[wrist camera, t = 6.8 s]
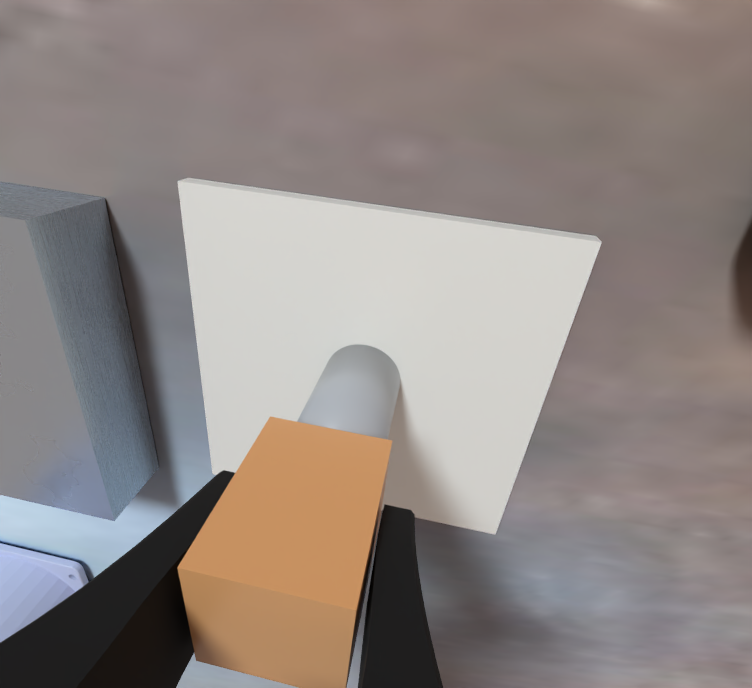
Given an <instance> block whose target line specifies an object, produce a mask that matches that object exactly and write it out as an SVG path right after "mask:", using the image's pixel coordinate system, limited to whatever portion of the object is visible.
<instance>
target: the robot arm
mask: <svg viewBox="0 0 752 688" xmlns="http://www.w3.org/2000/svg"><path fill="white" fill-rule="evenodd" d="M234 474H235V473H234V472H230V471H225V470H223V471H221V472H219V473H218V474H217V475H216V476H215V477H214V478H213V479H212V480H211V481H210V482H208V483H207V484H206V485H205V486H204V487H203V488H202V489H201V490H200V491H199V492H197V493H196V494H195V495H194V496H193V497H192V498H191V499H190V500H189V501H187V502H186V503H185V504H184V505H183V506H182V507H181V508H179V509H178V510H177V511H176V512H175V513H174V514H173V515H172V516H170V517H169V518H168V519H167V520H166V521H164V522H163V523H162V524H161V525H160V526H159V527H157V528H156V529H155V530H154V531H153V532H151V533H150V534H149V535H148V536H147V537H146V538H144V539H143V540H142V541H141V542H140V543H138V544H137V545H136V546H135V547H133V548H132V549H131V550H130V551H128V552H127V553H126V554H125V555H123V556H122V557H121V558H119V559H118V560H117V561H116V562H114V563H113V564H112V565H110V566H109V567H108V568H107V569H105V570H104V571H103V572H101V573H100V574H99V575H98V576H96V577H95V578H94V579H92V580H91V581H90V582H88V579H87V576H86V574H85V571H84V568H83V567H82V565H81V564H79V563H78V562H75V561H72V560H68V559H64V558H60V557H55V556H51V555H47V554H43V553H39V552H35V551H31V550H27V549H22V548H18V547H14V546H10V545H6V544H2V543H0V688H176V686H177V684H178V682H179V680H180V678H181V676H182V674H183V672H184V670H185V669H186V667H187V665H188V663H189V661H190V659H191V657H192V655H193V653H194V648H193V643H192V638H191V633H190V628H189V623H188V618H187V613H186V608H185V603H184V598H183V593H182V588H181V583H180V578H179V573H178V568H177V567H178V566H179V564H180V562H181V561H182V559H183V558H184V556H185V554H186V553H187V551H188V549H189V548H190V546H191V545H192V543H193V541H194V540H195V538H196V536H197V535H198V533H199V532H200V530H201V528H202V527H203V525H204V523H205V522H206V520H207V518H208V517H209V515H210V514H211V512H212V510H213V509H214V507H215V505H216V504H217V502H218V501H219V499H220V497H221V496H222V494H223V492H224V491H225V489H226V487H227V486H228V484H229V483H230V481H231V479H232V478H233V476H234ZM414 521H415V514H414V513H413V512H412V511H411V510H409V509H404V508H400V507H395V506H390V505H385V504H384V508H383V513H382V518H381V523H380V528H379V532H378V538H377V544H376V551H375V557H374V563H373V570H372V576H371V582H370V589H369V595H368V601H367V608H366V617H365V627H364V636H363V645H362V655H361V664H360V674H359V683H358V688H443V686H442V682H441V678H440V674H439V670H438V666H437V662H436V658H435V654H434V649H433V645H432V641H431V637H430V632H429V627H428V623H427V618H426V612H425V607H424V601H423V596H422V591H421V585H420V579H419V572H418V564H417V556H416V546H415V526H414Z"/></svg>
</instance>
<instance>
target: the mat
mask: <svg viewBox="0 0 752 688" xmlns="http://www.w3.org/2000/svg"><path fill="white" fill-rule="evenodd" d="M178 189H179V197H180V205H181V214H182V222H183V230H184V239H185V247H186V255H187V264H188V272H189V280H190V289H191V297H192V306H193V314H194V322H195V331H196V339H197V347H198V356H199V364H200V372H201V381H202V389H203V397H204V406H205V414H206V422H207V431H208V439H209V447H210V456H211V464H212V473H213V474H214V475H217V474H218V473H219V472H221V471H223V470H225V471H230V472H234V473H236V471H237V470H238V468H239V466H240V465H241V463H242V461H243V460H244V458H245V457H246V455H247V453H248V452H249V450H250V448H251V447H252V445H253V443H254V442H255V440H256V439H257V437H258V435H259V434H260V432H261V430H262V429H263V427H264V426H265V424H266V422H267V421H268V419H269V417H270V416H271V417H276V418H281V419H286V420H291V421H296V422H297V420H298V418H299V417H300V415H301V413H302V411H303V409H304V407H305V405H306V403H307V401H308V399H309V397H310V395H311V393H312V392H313V390H314V388H315V386H316V384H317V382H318V380H319V378H320V376H321V374H322V372H323V370H324V368H325V367H326V365H327V363H328V361H329V359H330V358H331V356H332V355H333V354H334V353H335V352H336V351H338V350H339V349H341V348H343V347H345V346H349V345H355V344H362V345H368V346H372V347H375V348H377V349H379V350H381V351H383V352H384V353H386V354H387V355H388V356H389V357H390V358H391V359H392V360H393V361H394V363H395V364H396V366H397V368H398V370H399V374H400V387H399V392H398V396H397V400H396V405H395V409H394V414H393V418H392V422H391V427H390V431H389V436H388V440H392V446H391V453H390V459H389V465H388V472H387V478H386V485H385V491H384V497H383V504H382V510H383V508H384V504H385V505H390V506H395V507H400V508H404V509H409V510H411V511H412V512H413V513H414V514H415V517H416V518H420V519H425V520H430V521H434V522H439V523H444V524H448V525H453V526H458V527H462V528H467V529H472V530H476V531H481V532H486V533H490V534H496V532H497V529H498V526H499V523H500V521H501V518H502V515H503V512H504V510H505V507H506V504H507V501H508V499H509V496H510V493H511V490H512V488H513V485H514V482H515V479H516V477H517V474H518V471H519V468H520V466H521V463H522V460H523V457H524V455H525V452H526V449H527V446H528V444H529V441H530V438H531V435H532V433H533V430H534V427H535V424H536V422H537V419H538V416H539V413H540V411H541V408H542V405H543V402H544V400H545V397H546V394H547V391H548V389H549V386H550V383H551V380H552V378H553V375H554V372H555V369H556V367H557V364H558V361H559V358H560V356H561V353H562V350H563V347H564V345H565V342H566V339H567V336H568V334H569V331H570V328H571V325H572V323H573V320H574V317H575V314H576V312H577V309H578V306H579V303H580V301H581V298H582V295H583V292H584V290H585V287H586V284H587V282H588V279H589V276H590V273H591V271H592V268H593V265H594V262H595V260H596V257H597V254H598V251H599V249H600V246H601V243H602V242H601V241H600V240H599V239H598V238H597V237H596V236H592V235H585V234H578V233H571V232H564V231H557V230H550V229H543V228H536V227H529V226H522V225H515V224H508V223H501V222H494V221H487V220H480V219H473V218H466V217H459V216H452V215H445V214H438V213H431V212H424V211H417V210H410V209H403V208H396V207H389V206H382V205H375V204H368V203H361V202H354V201H347V200H340V199H333V198H326V197H320V196H313V195H306V194H299V193H292V192H285V191H278V190H271V189H264V188H257V187H250V186H243V185H236V184H229V183H222V182H215V181H208V180H201V179H194V178H186V179H183V180H179V181H178Z"/></svg>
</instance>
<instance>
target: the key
mask: <svg viewBox="0 0 752 688" xmlns="http://www.w3.org/2000/svg"><path fill="white" fill-rule="evenodd" d="M399 387H400V374H399V370H398V368H397V366H396V364H395V363H394V361H393V360H392V359H391V358H390V357H389V356H388V355H387V354H386V353H384V352H383V351H381V350H379V349H377V348H375V347H372V346H368V345H362V344H355V345H349V346H345V347H343V348H341V349H339V350H338V351H336V352H335V353H334V354H333V355H332V356H331V358H330V359H329V361H328V363H327V365H326V367H325V368H324V370H323V372H322V374H321V376H320V378H319V380H318V382H317V384H316V386H315V388H314V390H313V392H312V393H311V395H310V397H309V399H308V401H307V403H306V405H305V407H304V409H303V411H302V413H301V415H300V417H299V418H298V420H297V422H296V421H291V420H286V419H281V418H276V417H271V416H270V417H269V419H268V421H267V422H266V424H265V426H264V427H263V429H262V430H261V432H260V434H259V435H258V437H257V439H256V440H255V442H254V443H253V445H252V447H251V448H250V450H249V452H248V453H247V455H246V457H245V458H244V460H243V461H242V463H241V465H240V466H239V468H238V470H237V471H236V473H235V474H234V476H233V478H232V479H231V481H230V483H229V484H228V486H227V487H226V489H225V491H224V492H223V494H222V496H221V497H220V499H219V501H218V502H217V504H216V505H215V507H214V509H213V510H212V512H211V514H210V515H209V517H208V518H207V520H206V522H205V523H204V525H203V527H202V528H201V530H200V532H199V533H198V535H197V536H196V538H195V540H194V541H193V543H192V545H191V546H190V548H189V549H188V551H187V553H186V554H185V556H184V558H183V559H182V561H181V562H180V564H179V566H178V567H177V568H178V573H179V578H180V583H181V588H182V593H183V598H184V603H185V608H186V613H187V618H188V623H189V628H190V633H191V638H192V643H193V648H194V653H195V658H196V661H200V662H204V663H207V664H211V665H215V666H219V667H223V668H227V669H230V670H234V671H238V672H242V673H246V674H250V675H253V676H257V677H261V678H265V679H269V680H273V681H276V682H280V683H284V684H288V685H292V686H296V687H299V688H346V687H347V682H348V677H349V672H350V667H351V662H352V657H353V652H354V647H355V642H356V637H357V632H358V627H359V623H360V618H361V613H362V608H363V603H364V598H365V593H366V588H367V583H368V578H369V573H370V568H371V563H372V558H373V553H374V548H375V543H376V538H377V533H378V528H379V523H380V516H381V510H382V504H383V497H384V491H385V485H386V478H387V472H388V465H389V459H390V453H391V446H392V440H388V436H389V431H390V427H391V422H392V418H393V414H394V409H395V405H396V400H397V396H398V392H399Z"/></svg>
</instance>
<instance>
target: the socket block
mask: <svg viewBox="0 0 752 688" xmlns="http://www.w3.org/2000/svg"><path fill="white" fill-rule="evenodd" d="M158 468H159V464H158V459H157V454H156V449H155V444H154V439H153V434H152V429H151V424H150V419H149V414H148V410H147V405H146V400H145V395H144V390H143V385H142V380H141V375H140V370H139V365H138V360H137V355H136V350H135V345H134V340H133V335H132V330H131V326H130V321H129V316H128V311H127V306H126V301H125V296H124V291H123V286H122V281H121V276H120V271H119V266H118V261H117V256H116V251H115V246H114V242H113V237H112V232H111V227H110V222H109V217H108V212H107V207H106V202H105V198H102V197H96V196H89V195H82V194H76V193H69V192H63V191H56V190H49V189H43V188H36V187H29V186H23V185H16V184H10V183H3V182H0V495H4V496H8V497H12V498H17V499H21V500H26V501H30V502H34V503H39V504H43V505H47V506H52V507H56V508H60V509H65V510H69V511H73V512H78V513H82V514H86V515H91V516H95V517H99V518H104V519H108V520H112V521H115V520H116V519H117V517H118V516H119V515H120V514H121V512H122V511H123V510H124V509H125V508H126V506H127V505H128V504H129V503H130V502H131V500H132V499H133V498H134V497H135V496H136V494H137V493H138V492H139V491H140V489H141V488H142V487H143V486H144V485H145V483H146V482H147V481H148V480H149V479H150V477H151V476H152V475H153V474H154V473H155V471H156V470H157V469H158Z"/></svg>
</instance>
